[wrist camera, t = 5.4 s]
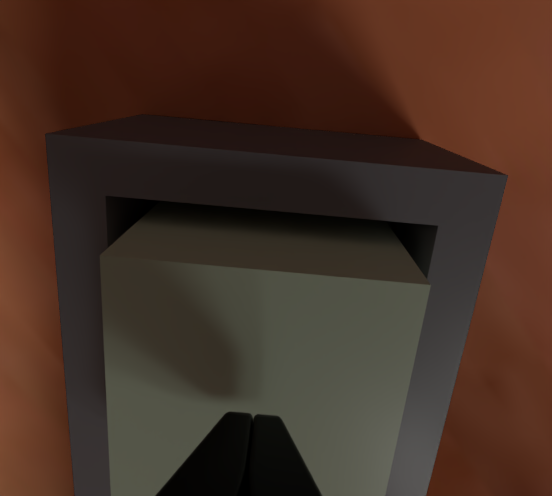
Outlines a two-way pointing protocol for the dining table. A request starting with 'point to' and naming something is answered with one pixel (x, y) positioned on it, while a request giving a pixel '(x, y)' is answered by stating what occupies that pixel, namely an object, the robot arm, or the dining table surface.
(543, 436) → the dining table surface
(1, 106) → the dining table surface
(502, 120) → the dining table surface
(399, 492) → the button board
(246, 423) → the robot arm
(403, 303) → the sage green button
